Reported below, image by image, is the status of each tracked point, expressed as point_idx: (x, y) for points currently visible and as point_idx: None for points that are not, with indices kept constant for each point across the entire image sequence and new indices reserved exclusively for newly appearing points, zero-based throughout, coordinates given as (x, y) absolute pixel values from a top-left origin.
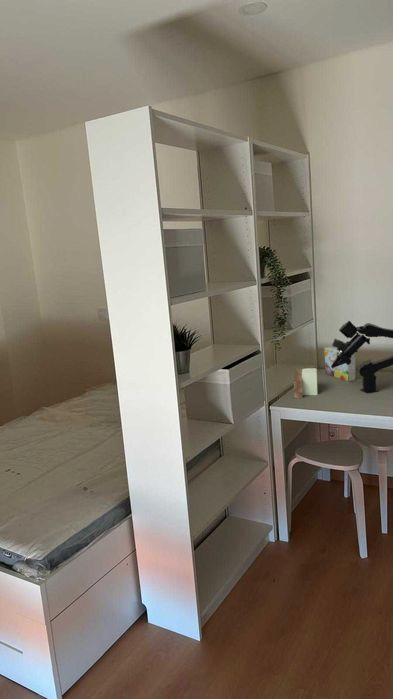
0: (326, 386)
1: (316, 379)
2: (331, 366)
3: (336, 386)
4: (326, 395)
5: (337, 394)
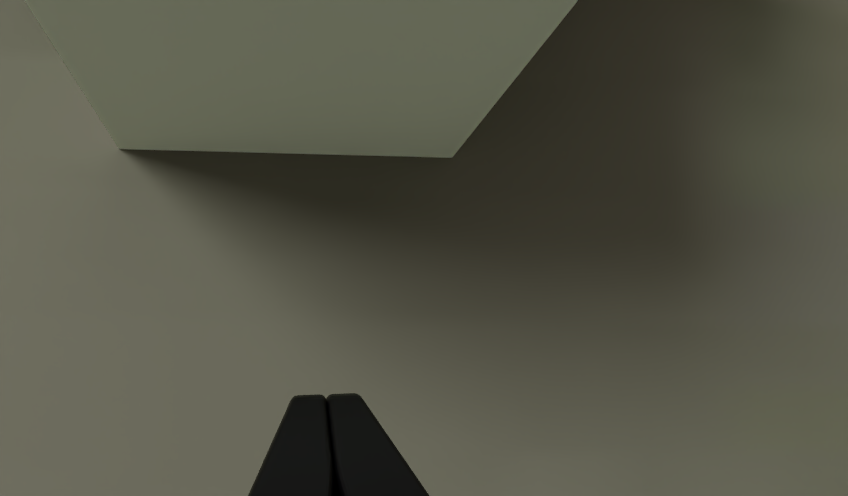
0: (593, 304)
1: (40, 15)
2: (288, 411)
3: (593, 466)
4: (65, 296)
5: (109, 489)
